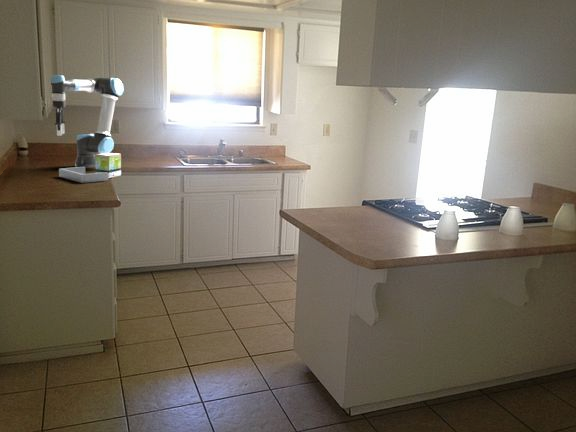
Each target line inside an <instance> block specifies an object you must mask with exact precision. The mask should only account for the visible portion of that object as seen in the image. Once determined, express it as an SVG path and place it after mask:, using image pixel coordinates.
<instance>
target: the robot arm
mask: <svg viewBox="0 0 576 432" xmlns="http://www.w3.org/2000/svg"><path fill="white" fill-rule="evenodd" d="M50 78H51V85H52V90H51V93H52V94H51V98H52V107H53V108H55V123H54V125H55V126H56V136H59V137H61V136H63V135H64V134H65V133H66V132H65V124H66V122H65V116H64V108H65V107H67V105H66V104H67V103H66V92H80V91H81V92H87V93H93V94H98V95H101V97H102V101H101V106H100V107H101V108H100V112H99V113H100V114H99V119H98V123H97V129H96V131H95V132H94V133H89V134H78V135H77V136H76V154H77V155H76V159H75V161H74V162H75V163H74V168H75V167H85V169H86V168H88V169H90V168H92V169H93V168H96V154H102V153H112V151H113V150H114V146H115V143H114V139H113V138H112V135H111V129H112V123H113V118H114V112H115V107H116V101H117V100H119V96H122V95H123V94H124V84H123V83H122V81H121V80H120V79H119V78H116V77H115V78H114V77H93V78H92V77H90V78H89V77H88V78H86V79H79V78H78V79H76V78H65V76H64V75H62V74H61V75H59V74H52V75H51V77H50Z"/></svg>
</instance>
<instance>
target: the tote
mask: <svg viewBox="0 0 576 432" xmlns="http://www.w3.org/2000/svg"><path fill="white" fill-rule="evenodd" d="M59 177H60V178H64V179H66V180H70V181H74V182H78V183H80V184H84V183H85V184H86V183H96V182H98V183H99V182H106V181H109V178H108V173H107V172H104V173H96V172H93V173H92V172H91V173H86V168H85V167H75V166H74V167H65V168H58V178H59Z"/></svg>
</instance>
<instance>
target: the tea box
mask: <svg viewBox="0 0 576 432" xmlns="http://www.w3.org/2000/svg"><path fill="white" fill-rule="evenodd" d="M95 158H96V167H95V173H104V172H107V173H108V179H111V178H115V177H120V176H121V175H122V154H121V153H117V152H115V153H114V152H110V153H102V154H101V153H95Z"/></svg>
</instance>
